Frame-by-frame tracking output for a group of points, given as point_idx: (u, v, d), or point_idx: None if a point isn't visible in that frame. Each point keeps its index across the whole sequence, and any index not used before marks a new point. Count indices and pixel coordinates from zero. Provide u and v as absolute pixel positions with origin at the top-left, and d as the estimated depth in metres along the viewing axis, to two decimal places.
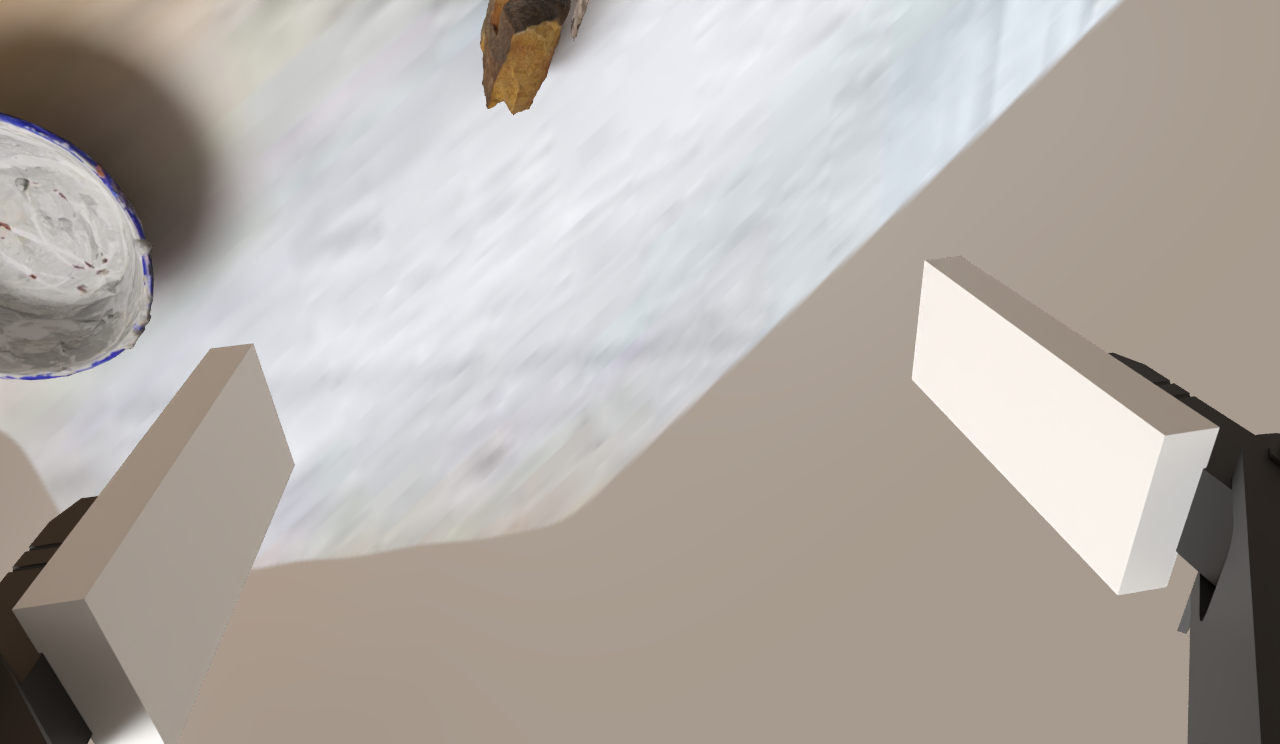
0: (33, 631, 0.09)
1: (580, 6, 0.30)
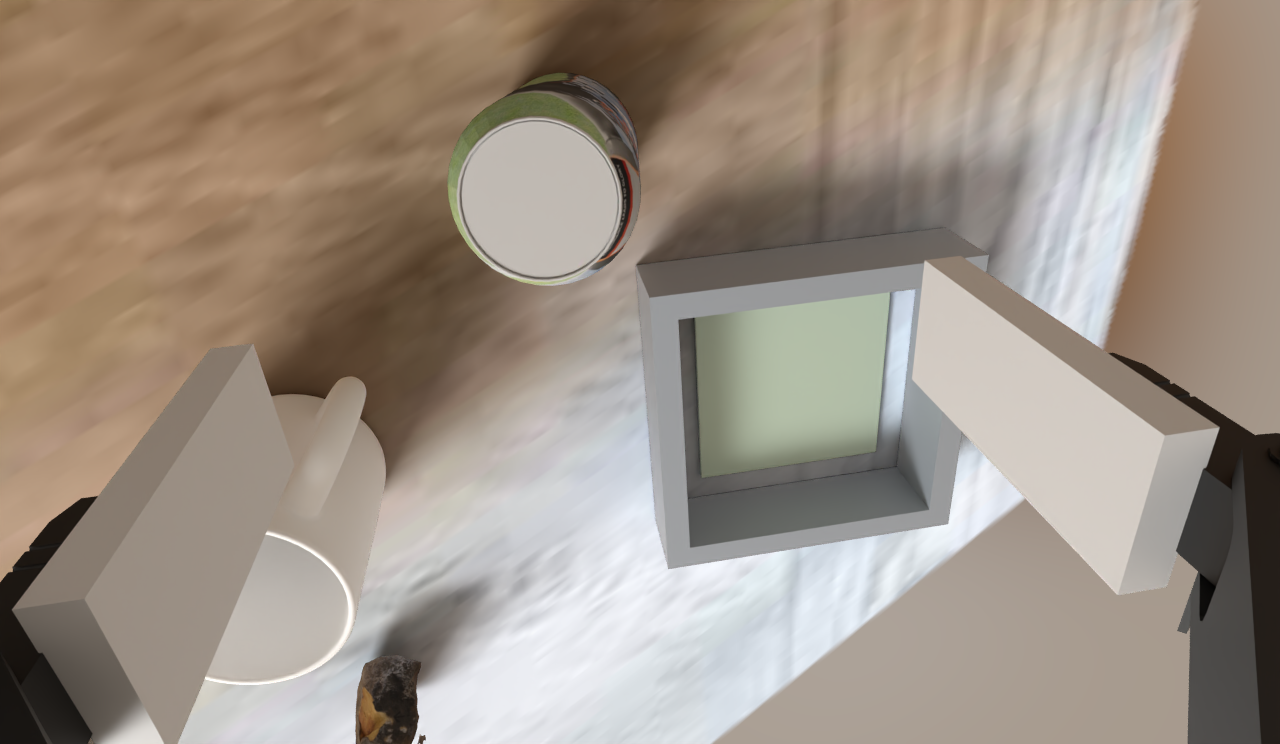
0: (33, 631, 0.09)
1: None
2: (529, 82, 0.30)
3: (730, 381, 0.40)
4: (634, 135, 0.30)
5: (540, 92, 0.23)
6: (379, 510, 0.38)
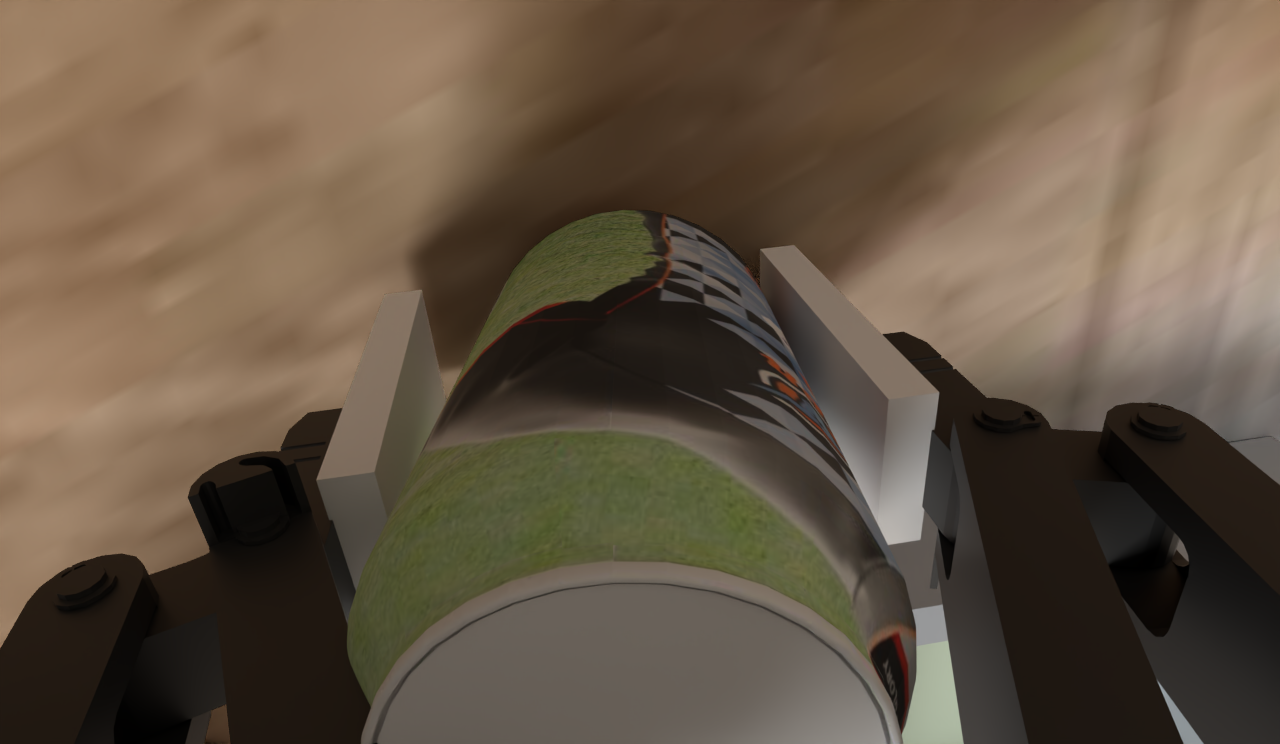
0: (329, 500, 0.10)
1: None
2: (568, 251, 0.13)
3: None
4: None
5: (635, 429, 0.07)
6: None
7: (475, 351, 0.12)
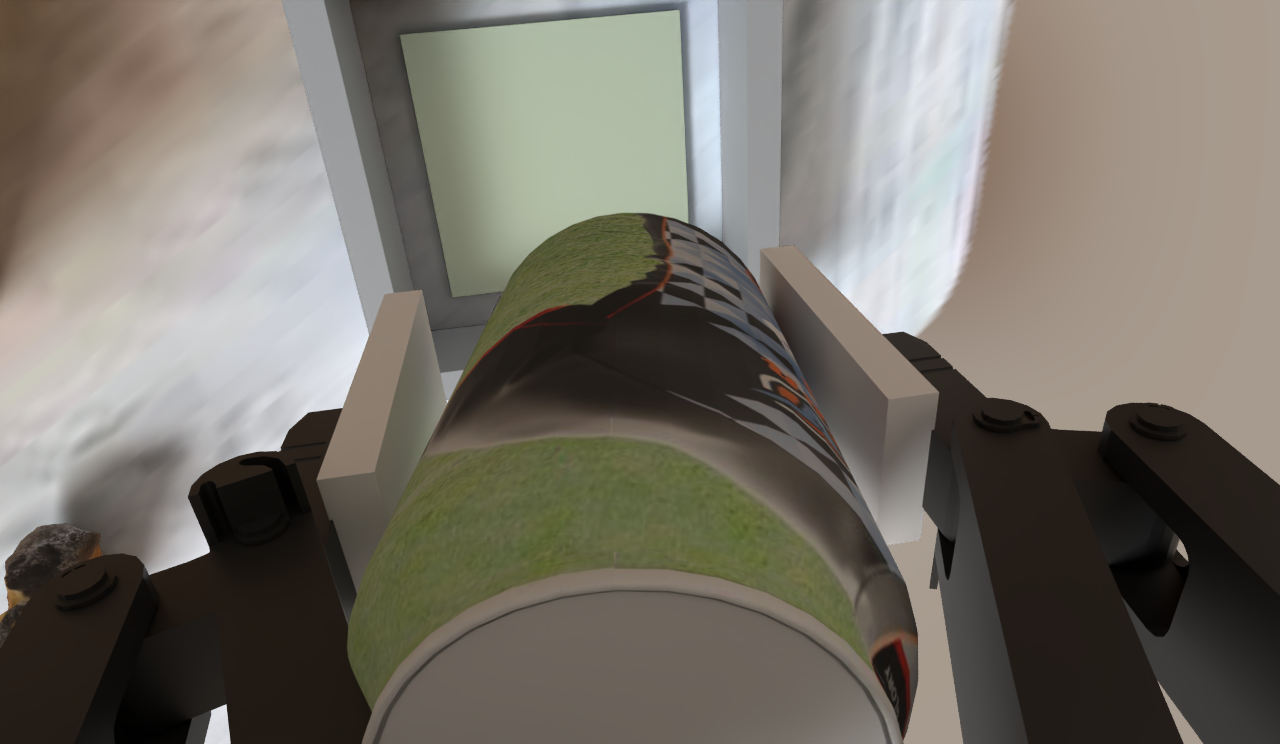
0: (329, 500, 0.10)
1: None
2: (568, 254, 0.13)
3: (469, 149, 0.30)
4: None
5: (636, 436, 0.07)
6: None
7: (475, 355, 0.12)
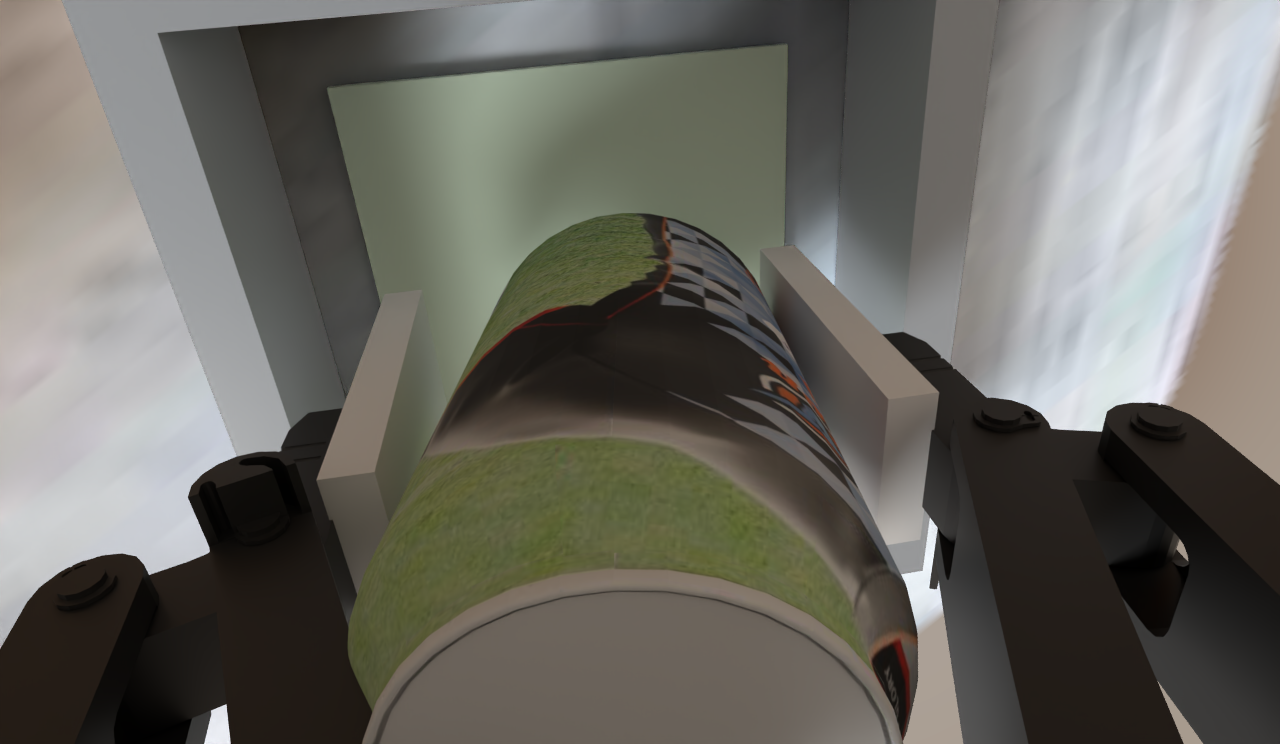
0: (329, 500, 0.10)
1: None
2: (568, 254, 0.13)
3: (446, 264, 0.19)
4: None
5: (636, 436, 0.07)
6: None
7: (475, 355, 0.12)
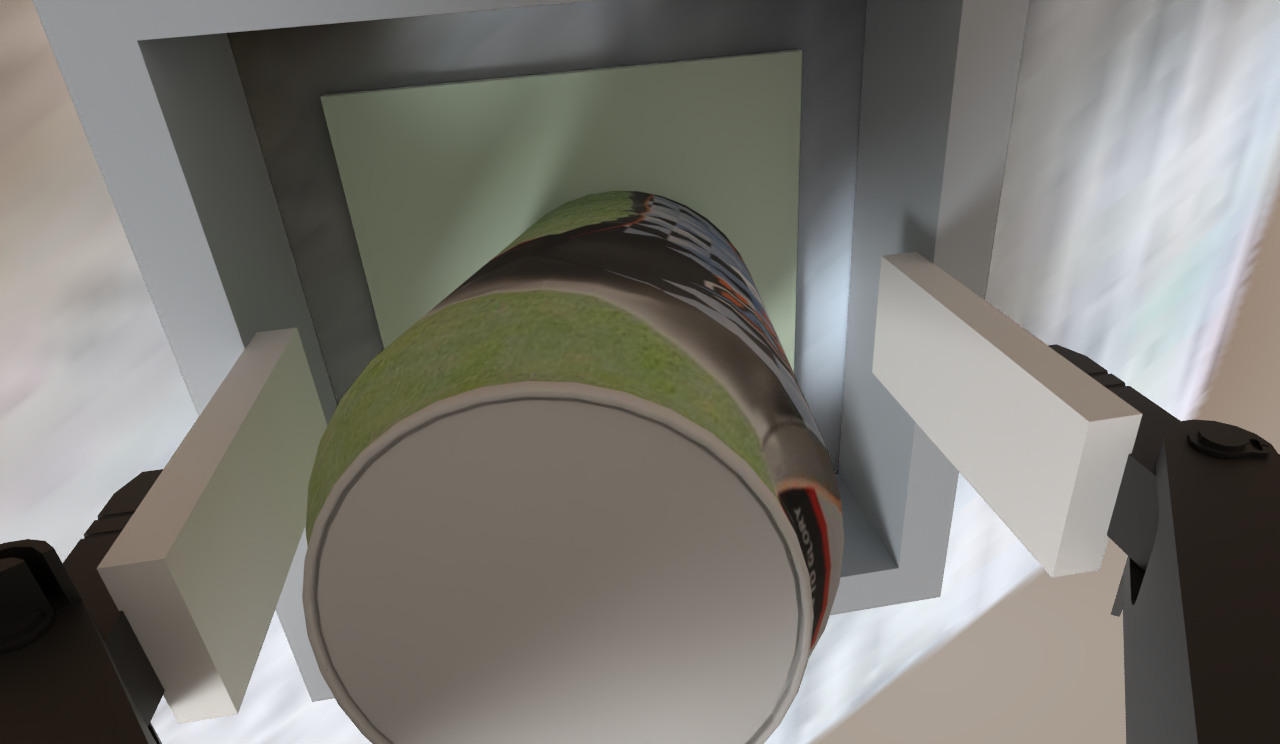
0: (115, 590, 0.09)
1: None
2: (554, 216, 0.14)
3: (445, 279, 0.18)
4: None
5: (564, 289, 0.08)
6: None
7: None
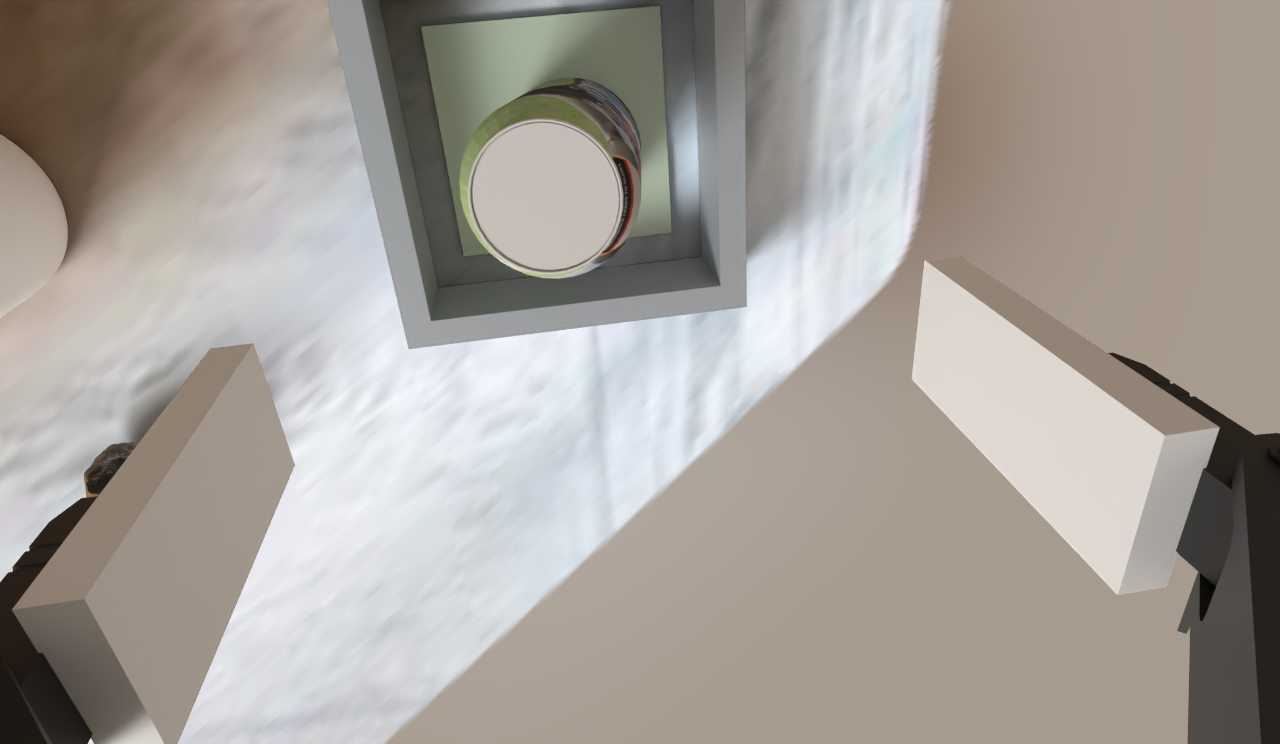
0: (33, 631, 0.09)
1: None
2: (537, 86, 0.31)
3: (479, 125, 0.34)
4: (637, 137, 0.31)
5: (547, 95, 0.25)
6: (39, 255, 0.32)
7: None
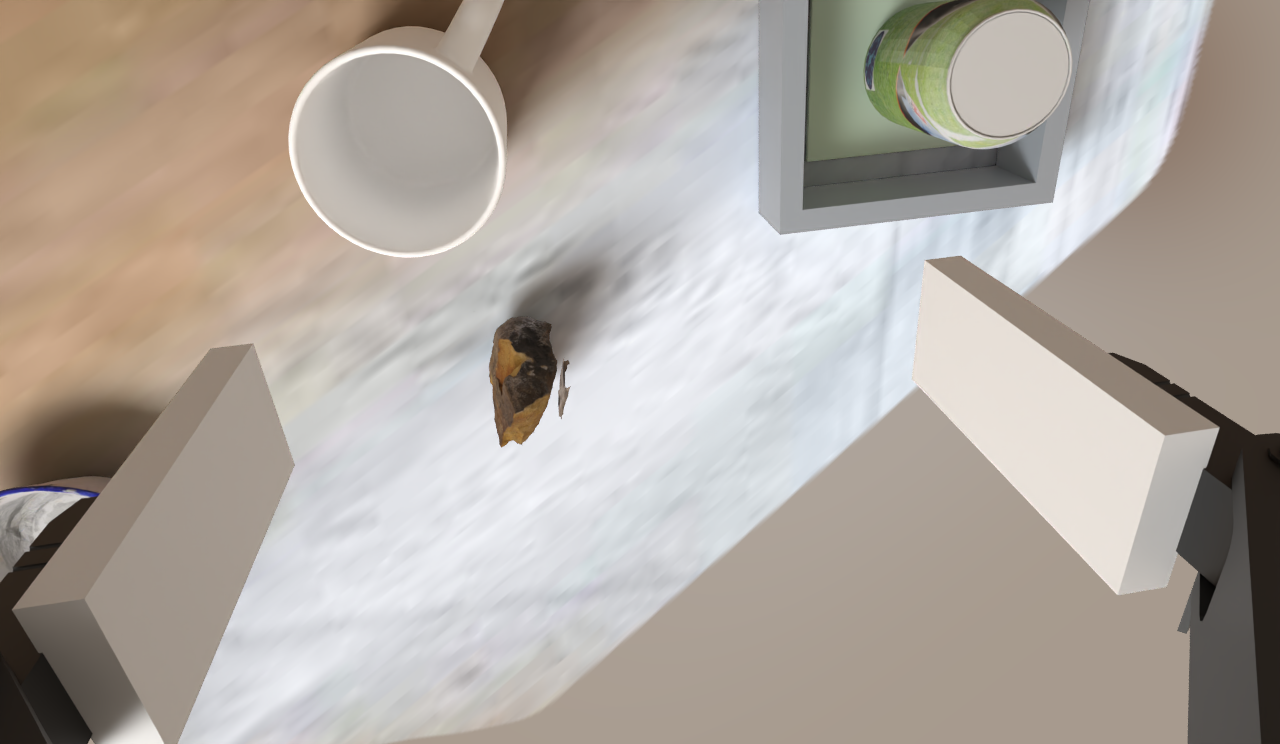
0: (33, 631, 0.09)
1: (563, 395, 0.39)
2: (923, 6, 0.38)
3: (842, 46, 0.41)
4: None
5: None
6: None
7: (910, 25, 0.36)
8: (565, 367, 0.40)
